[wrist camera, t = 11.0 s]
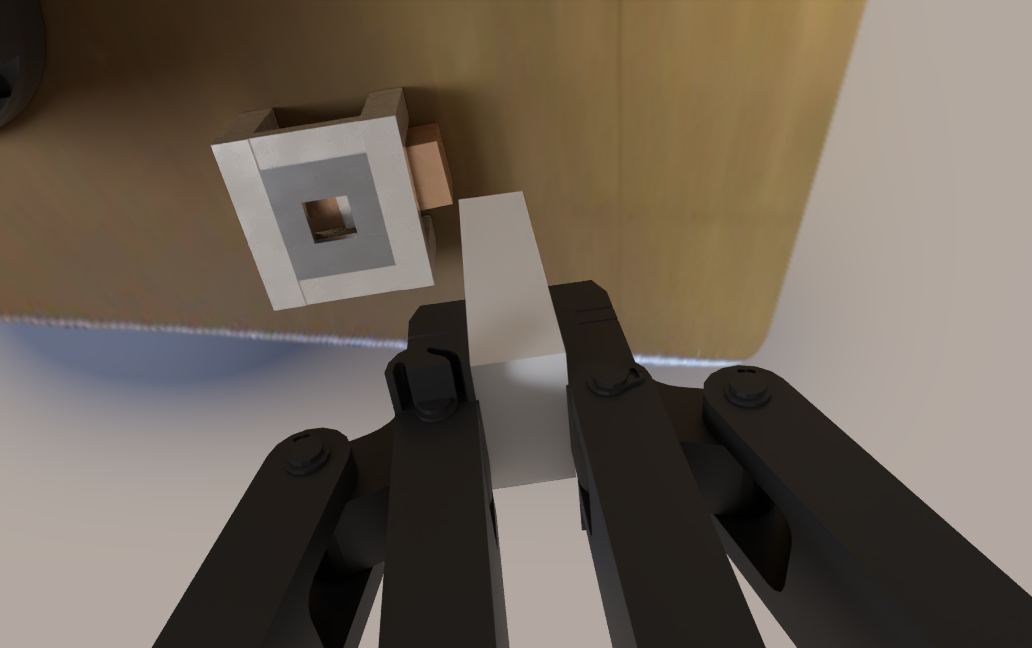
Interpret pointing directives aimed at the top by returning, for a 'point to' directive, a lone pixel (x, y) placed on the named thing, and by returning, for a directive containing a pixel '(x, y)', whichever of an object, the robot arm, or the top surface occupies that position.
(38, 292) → the top surface
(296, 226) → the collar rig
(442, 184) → the banded cardboard box
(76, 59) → the top surface
